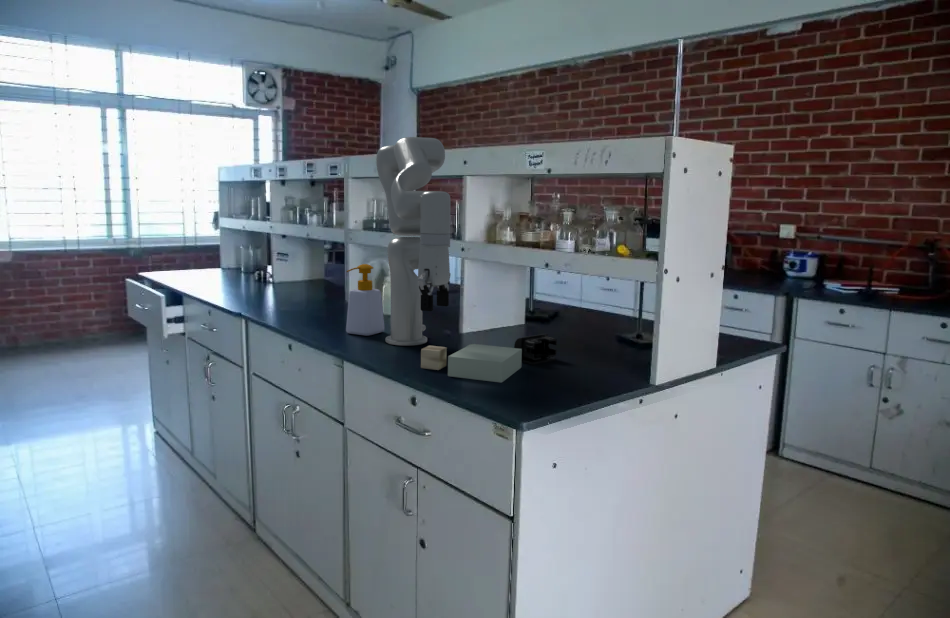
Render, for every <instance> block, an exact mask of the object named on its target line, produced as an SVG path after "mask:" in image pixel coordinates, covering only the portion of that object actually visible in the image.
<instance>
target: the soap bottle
mask: <svg viewBox="0 0 950 618" xmlns="http://www.w3.org/2000/svg"><path fill="white" fill-rule="evenodd" d="M373 269H374V267H373V266H372V265H370V264H368V263H361V264H360V265H358V266H357V267H352V268H350V269H347V270H346V273H349V272H351V271H354V270H358V273H359V274H362V279H360V280H357V288H355V289H352V290H350V291H349V293H348V303H347V313H346V326H345V332H346V333H347V334H351V335H357V336H358V335H359V336H363V337H365V336H366V337H369V336H372V335H377V334H379V333H383V332H384V331H385V321H384V319H385V318H384V310H383V301H382V300H383V299H382V292H381V290H380V289H377V288H373V280H370V279H368V277H369V276H368V274H371V273H372V270H373Z"/></svg>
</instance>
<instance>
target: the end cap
mask: <svg viewBox="0 0 950 618" xmlns="http://www.w3.org/2000/svg"><path fill="white" fill-rule="evenodd" d="M513 345H514V347H513V348H518V349H522V360H521V363H525V364H529V365H532V366H533V365H539V364H544V363H549V362H553V361H554V362H555V361H556V356H557V354H558V353H557V349H555V348H551V347H550V345H553V346H557V345H558V338H557V339H556V338H554V337H549V334H548V333H541V334H537V335H536V334H535V335H529V336H523V337H518V338H517V339H516V340H515V341H514V344H513Z"/></svg>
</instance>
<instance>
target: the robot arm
mask: <svg viewBox="0 0 950 618" xmlns="http://www.w3.org/2000/svg"><path fill="white" fill-rule="evenodd" d="M375 159H376V162H375V163H376V170H377V176H378V179H379V181H380V184H381V185H382V188H383V190H384V193H385V197H386V205H387V206H386V207H387V215H388V216H387V217H388V222H389V223H388V224H389V227H390V231H391V232H392V233H393V234H394V235H396V236H399V237H396V238H394V239H391V240H390V242H389V243H388V245H387V260H388V266H389V273H390V274H389V278H390V335H388V336H386V337H385V342H386V343H387V344H389V345H393V346H394V345H395V346H407V347H408V346H420V345H423V344H426V343H427V342H428V337H427V336H425V335H423V332H424V331H425V330H426V329H427V327H426V325H425V324H423V312H433V311H434V295H433V291H434V288H437V290H436V306H437V307H449V305H450V304H449V302H450V301H449V300H450V298H449V297H450V295H449V293H450V284H451V281H450V280H451V279H450V278H451V272H450V268H451V267H450V265H451V264H450V254H449V253H450V252H449V250H450V249H449V248H451V196H450V194H449V192H446V191H440V190H439V191H437V190H436V191H435V190H434V191H433V190H431V191H429V190H419V189H421V188H423V187H425V186H426V185H427V184H429V182H430V181H431V179H432V177H433V173H435V172H436V171H438V170H440V168H442V167H443V165H444V163H445V159H446V151H445V146H444V145H443V142H442V141H440V140H439V139H438V138H434V137H420V136H419V137H418V136H417V137H415V136H407V137H402V138H400V139H398V140H397V142H396V143H395V144H392V145H391V144H390V145H385V146H383V147H382V146H381V147H380V148H379V149H378V151H377V154H376V157H375ZM400 236H401V237H400ZM416 270H417V273H416V272H415V271H416Z"/></svg>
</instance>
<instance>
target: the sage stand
mask: <svg viewBox="0 0 950 618" xmlns="http://www.w3.org/2000/svg"><path fill="white" fill-rule="evenodd" d="M521 360H522V349H518V348H514V347H508V346H498V345H487V344H478V343H470V344H468V345H467V346H465V347H463V348H461V349H459V350H458V351H456V352H454V353H452V354H450V355H448V356H447V376H448V377H453V378H461V379H470V380H478V381H484V382H485V381H487V382H494V383H503V382H505V381H506V380H507V379H509V378H510V377H511V376H512V375H513V374H515V373H516V372H517V371H519V370H520V369H521V368H522V361H521Z"/></svg>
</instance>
